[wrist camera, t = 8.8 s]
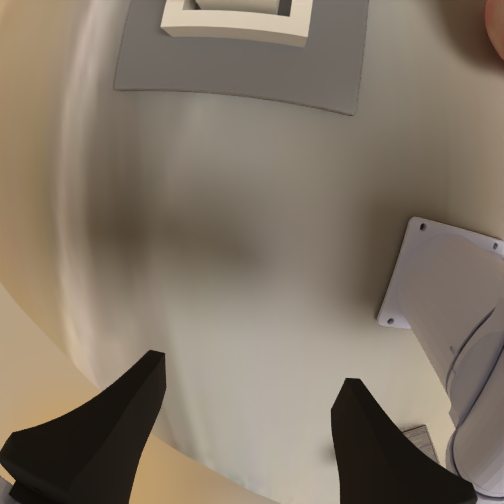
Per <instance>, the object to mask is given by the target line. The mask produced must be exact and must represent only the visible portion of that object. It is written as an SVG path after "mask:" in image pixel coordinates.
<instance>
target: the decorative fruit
mask: <svg viewBox="0 0 504 504" xmlns="http://www.w3.org/2000/svg"><path fill="white" fill-rule="evenodd" d="M484 19H485V26H486V30H487V33H488V36H489V38H490V40H491V43H492V44H493V46H494V48H495V49H496V51H497V53H498V54H499V55H500V57H501V58H502V59H503V61H504V0H486V4H485V12H484Z"/></svg>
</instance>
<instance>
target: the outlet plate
mask: <svg viewBox="0 0 504 504" xmlns="http://www.w3.org/2000/svg"><path fill="white" fill-rule="evenodd" d="M368 3H369V0H280V3H279V8H278V14H277V15H272V14H263V13H253V12H240V11H222V10H201V8H200V7H199V5H198V3H197V2H196V0H132V1H131V5H130V9H129V13H128V17H127V21H126V25H125V29H124V34H123V38H122V43H121V48H120V53H119V58H118V64H117V70H116V76H115V82H114V90H119V91H180V92H199V93H212V94H223V95H233V96H242V97H251V98H258V99H266V100H272V101H279V102H285V103H291V104H297V105H302V106H307V107H312V108H317V109H322V110H327V111H332V112H336V113H340V114H345V115H349V116H353V115H355V113H356V106H357V100H358V93H359V86H360V79H361V71H362V63H363V55H364V46H365V37H366V27H367V15H368Z"/></svg>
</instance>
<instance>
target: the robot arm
mask: <svg viewBox="0 0 504 504" xmlns="http://www.w3.org/2000/svg"><path fill="white" fill-rule="evenodd" d="M423 223H424V228H423V229H420V225H421V224H423ZM494 243H495V245H494ZM493 245H494V247H493ZM390 318H392V320H391V321H388V320H389V319H390ZM377 322H378V324H379V325H380V326H385V327H395V328H406V329H412V330H413V332H414V334H415V335H416V337H417V339H418V341H419V342H420V344H421V346H422V348H423V350H424V351H425V353H426V355H427V357H428V359H429V360H430V362H431V364H432V366H433V368H434V370H435V372H436V373H437V375H438V377H439V379H440V381H441V383H442V385H443V387H444V389H445V391H446V393H447V395H448V397H449V399H450V401H451V409H450V411H449V415H450V417H451V419H452V421H453V423H454V426H455V428H456V430H455V431H454V433H453V434H452V436H451V437H450V440H449V442H448V445H447V449H446V459H445V461H446V468H447V469H445V468H444V467H442V466H440V465H439V464H438V463H436V462H435V461H433V460H432V459H431V458H429V457H428V456H427V455H426V454H424V453H423V452H422V451H421V450H420V449H418V448H417V447H416V446H415V445H414V444H413V443H412V442H411V441H410V440H409V439H408V438H407V437H406V436H405V435H404V434H403V433H402V432H401V431H400V430H399V429H398V427H397V426H396V425H395V424H394V423H393V422H392V420H391V419H390V418H389V417H388V416H387V414H386V413H385V412H384V410H383V409H382V408H381V407H380V405H379V404H378V403H377V401H376V400H375V399H374V397H373V396H372V394H371V393H370V392H369V390H368V389H367V388H366V386H365V385H364V384H363V382H362V381H361V380H360V379H356V378H346V379H345V381H344V384H343V386H342V388H341V390H340V392H339V394H338V396H337V398H336V400H335V402H334V404H333V406H332V408H331V428H332V436H333V442H334V448H335V454H336V460H337V466H338V472H339V480H340V504H476V503H478V504H504V241H502V240H499V239H496V238H493V237H489V236H486V235H483V234H479V233H476V232H472V231H469V230H465V229H462V228H458V227H454V226H451V225H447V224H443V223H439V222H436V221H432V220H428V219H424V218H420V217H412V218H411V219H410V220H409V222H408V226H407V229H406V233H405V236H404V240H403V243H402V247H401V250H400V253H399V256H398V260H397V263H396V266H395V269H394V272H393V275H392V278H391V281H390V284H389V287H388V289H387V292H386V295H385V298H384V301H383V303H382V306H381V309H380V311H379V314H378V317H377ZM165 391H166V370H165V353H162V352H158V351H153V350H149V351H148V352H147V353H146V354H145V355H144V356H143V357H142V358H141V359H140V360H139V361H138V362H136V363H135V364H134V365H133V366H132V367H131V368H130V369H129V370H128V371H127V372H126V373H124V374H123V375H122V376H121V377H120V378H119V379H118V380H116V381H115V382H114V383H113V384H111V385H110V386H109V387H108V388H106V389H105V390H104V391H102V392H101V393H100V394H98V395H97V396H95V397H94V398H93V399H91V400H90V401H88V402H86V403H85V404H83V405H82V406H80V407H78V408H76V409H74V410H73V411H71V412H69V413H67V414H65V415H63V416H61V417H58V418H56V419H54V420H51V421H49V422H46V423H44V424H41V425H38V426H36V427H32V428H28V429H24V430H21V431H17V432H13V433H12V434H11V435H10V437H9V438H8V439H7V441H6V442H5V444H4V446H3V448H2V449H1V451H0V463H1V465H2V466H3V467H4V468H5V469H6V470H7V471H8V473H9V474H10V475H11V476H12V477H13V478H14V479H15V480H16V481H15V483H14V485H12V484H11V483H9V482H8V481H7V480H5V479H4V478H2V477H1V476H0V504H129V499H130V494H131V490H132V486H133V482H134V478H135V474H136V470H137V467H138V463H139V459H140V457H141V453H142V451H143V448H144V446H145V444H146V441H147V439H148V437H149V434H150V432H151V430H152V427H153V425H154V423H155V420H156V418H157V416H158V413H159V411H160V408H161V405H162V401H163V398H164V394H165Z"/></svg>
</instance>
